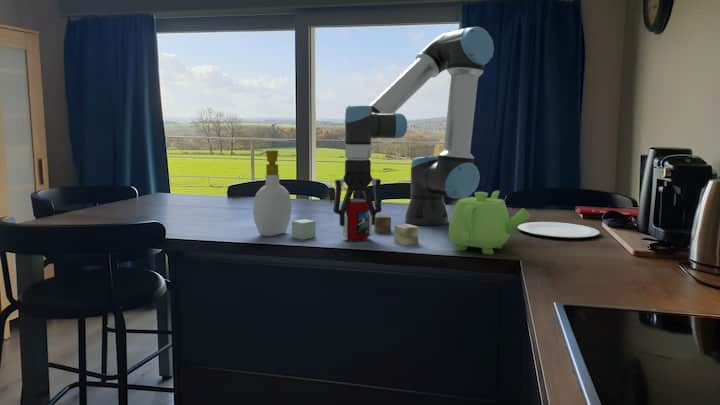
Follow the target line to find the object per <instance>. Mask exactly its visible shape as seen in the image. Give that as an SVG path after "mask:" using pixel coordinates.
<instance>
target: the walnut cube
mask: <svg viewBox="0 0 720 405" xmlns="http://www.w3.org/2000/svg"><path fill="white" fill-rule="evenodd" d="M391 228H392V217H391V215H390V214H376V215H375V224H374V225H373V231H374V233H376V234H377V233H382V234H384V233H386V234H387V233H390V234H391V233H392V231H391V230H392V229H391Z"/></svg>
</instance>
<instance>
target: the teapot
mask: <svg viewBox="0 0 720 405" xmlns="http://www.w3.org/2000/svg"><path fill="white" fill-rule="evenodd" d="M499 194H500V190H495V191H493V192H492V193H491V195H490V197H488V196H489V193H488V192H485V191H474V196H468V197H466V198H459V199H458V200H457V201H456V204H455V206H454V209H453V211H452V214H451V217H450V220H449V225H448V237H449V240H450V241H451V244H454V245H456V247H455V248H454V250H456V251H460V252H461V251H462V252H463V251H467V249H468V247H471V248H481V253H482V254H484V255H493V254H495V253H494V250H493V249H496V250H502V249H503V246H504V245H505V244H506V243H507V242H508V240H509V238H510V237H511V232H513V231H514V230H515V229H516V228H518V226H519V225H520V224H524V223H523V222H525V221H526V220H527V219H529V218H530V217H531V215H530V213H529V211H527V210H526V209H525V208H523V207H522V208H520V210H519V211H518V212H517V213H516V214H514V215H513V216H512V217H511V218H510V215H509V211H508V208H507V205H506V202H505V200H504V199H502V198H499Z"/></svg>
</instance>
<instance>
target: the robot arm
mask: <svg viewBox="0 0 720 405" xmlns="http://www.w3.org/2000/svg"><path fill="white" fill-rule="evenodd" d="M494 51H495V48H494V41H493V38H492V36H491V35H490V34H489V32H488V31H487V30H486V29H484V28H483V27H480V26H473V27H472V26H471V27H470V26H467V27H465V28H461V29H456V30H453V31H448V32H444V33H442V34H440V35H439V36H437V37H436V38H435V39H433V40H432V41H431V42H429V44H427V45H426V46H425V47H424V48H423V49H422V50H421V51H420V52H419V53H418V54H416V56H415V61H414V62H412V64H411V65H410V66H408V67H407V69H405V70H404V71H403V72H402V73H401V74H400V75H399V76H398V77H397V78H396V79H395V80H394V81H393V82H391V84H390V85H389V86H388V87H387V88H386V89H384V91H383V92H382V93H380V94H379V96H377V97H376V99H374V100H373V101H371V103H370V104H369V105H365V104H364V105H363V104H361V105H360V104H357V105H356V104H355V105H352V104H351V105H348V106H347V107H346V108H345V115H344V124H345V126H344V132H345V134H344V135H345V136H344V141H345V142H344V143H345V144H344V149H345V150H344V152H345V153H344V157H345V158H346V160H344V176H343V178H340V179H339V178H338V179H337V178H336V179H334V186H335V190H334V191H335V192H334V200H333V209H332V210H333V212H334V214H337V215H338V216H339V225H340V227H342V237H343V238H346V239H348V238H347V215H346V210H347V207H348V204H349V201H350V199H352V195H353V193H354V192H357V191H359V192H360V191H361V192H362V193H363V197H364V199H366V200H367V203H368V205H369V233H368V238H369V237H370V238H371V237H372V236H373V228H372V226H374V224H375V215H377V213H381V212H382V201H381V190H380V186H381V183H382V180H381V179H379V178H373V177H372V174H371V170H372V169H371V168H372V167H371V166H372V165H371V164H372V162H371V160H370V158H371V157H372V143H371V142H372V139H393V140H395V139H400V138H403V137H404V136H406V133H407V131H408V120H407V118H406V116H405V115H404V114H403V113H397V111H398V110H399V109H400V108H401V107H402V106H403V105H404V104H405V103H406V102H407V101H408V100H409V99H410V98H412V97H413V95H415V94H416V93H417V92H418V90H420V89H421V88H422V87H423V86H424V85H425V83H427V82H428V81H429V80H430V79H431V78H436V77H437V76H438V75H440V73H442V72H443V71H445V70H446V71H447V72H448V74H449V75H450V82H449V83H450V86H449V93H448V104H447V114H446V125H445V135H444V143H443V150H442V151H441V152H439V153H438V155H433V156H420V157H415V158H413V159H412V161H411V166H410V201H409V204H408V206H407V209H406V212H405V215H404V216H405V219H404V222H405V223H406V224H410V225H414V226H441V225H442V226H443V225H447V224H448V223H449V214H448V211H447V207H446V204H445V197H449V198H452V199H463V198H468V197H471V196H472V194H473V193H475V192H476V190H477V188H478V186H479V183H480V179H481V176H480V171H479V170H478V167H477V166H476V165H475V164H474V160H475V157H474V156H473V154H472V153H471V148H472V137H473V127H474V119H475V111H476V110H475V109H476V100H477V90H478V81H479V78H480V76H481V75H482V74H484V73H485V72H484V71H485V65H486V64H487V63H489V62H490V60H492V58H493V55H494ZM344 183H345V185H346V186H347V188H346V190H345V191H346V192H345V195H344V198H343V200H342V204H341V196H342V187H343V186H344ZM370 184H372V188H373V198H374V203H373V200H372V197H371V194H370V191H369V188H368V186H369V185H370Z"/></svg>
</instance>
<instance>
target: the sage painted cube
mask: <svg viewBox="0 0 720 405" xmlns="http://www.w3.org/2000/svg"><path fill="white" fill-rule="evenodd" d="M291 237H292V238H295V239H299V240H307V239H306V238H308V239H313V238H316V221H315V220H311V219H306V218H304V219H297V220H292V221H291ZM312 237H313V238H312Z"/></svg>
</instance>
